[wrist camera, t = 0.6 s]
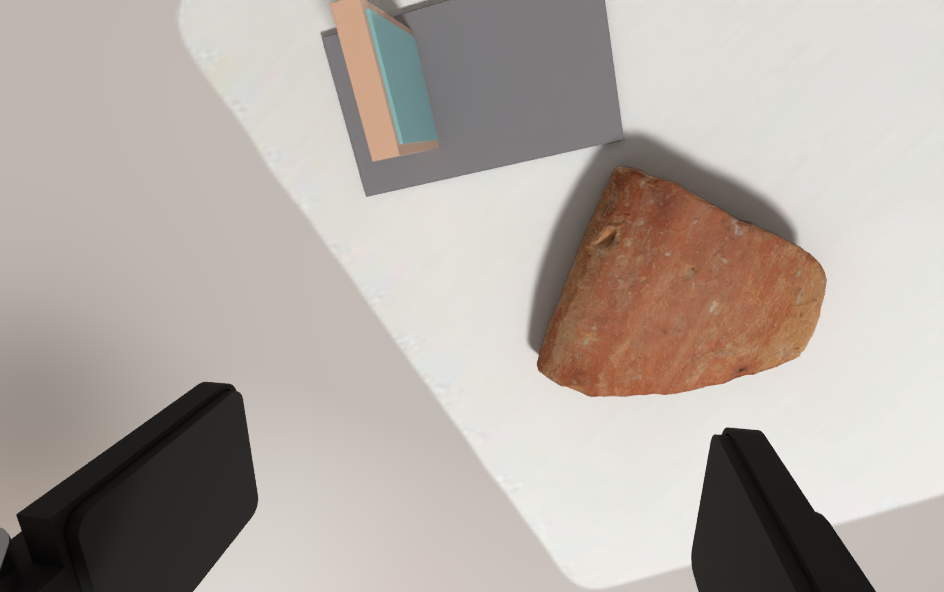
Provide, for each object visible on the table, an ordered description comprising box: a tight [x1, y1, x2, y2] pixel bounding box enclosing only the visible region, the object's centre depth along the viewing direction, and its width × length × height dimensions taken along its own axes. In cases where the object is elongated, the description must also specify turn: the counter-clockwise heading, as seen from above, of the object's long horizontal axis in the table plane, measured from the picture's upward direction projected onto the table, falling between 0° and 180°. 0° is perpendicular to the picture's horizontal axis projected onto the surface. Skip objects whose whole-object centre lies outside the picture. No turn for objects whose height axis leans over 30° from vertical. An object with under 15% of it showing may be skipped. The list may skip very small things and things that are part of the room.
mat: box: [322, 0, 624, 197], centre depth 32 cm, size 17×10×1 cm, turn 103°
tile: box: [330, 0, 439, 162], centre depth 28 cm, size 2×7×9 cm, turn 13°
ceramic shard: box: [537, 166, 827, 397], centre depth 33 cm, size 15×6×15 cm
